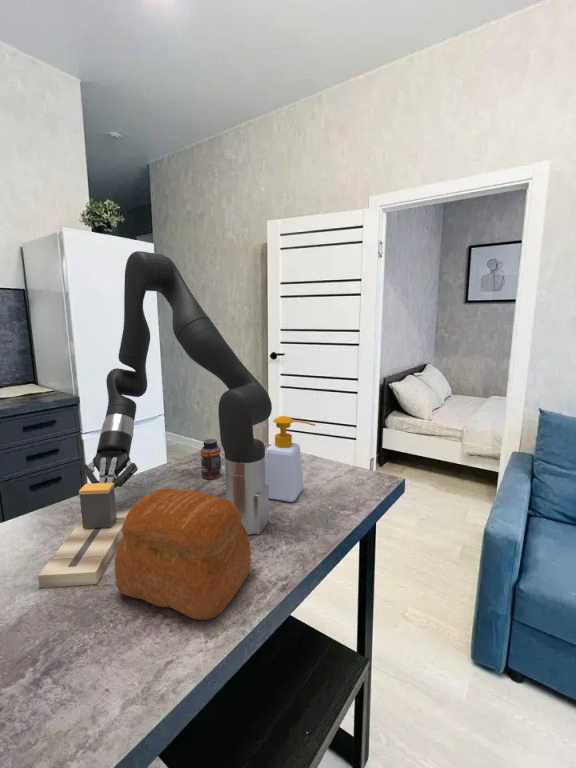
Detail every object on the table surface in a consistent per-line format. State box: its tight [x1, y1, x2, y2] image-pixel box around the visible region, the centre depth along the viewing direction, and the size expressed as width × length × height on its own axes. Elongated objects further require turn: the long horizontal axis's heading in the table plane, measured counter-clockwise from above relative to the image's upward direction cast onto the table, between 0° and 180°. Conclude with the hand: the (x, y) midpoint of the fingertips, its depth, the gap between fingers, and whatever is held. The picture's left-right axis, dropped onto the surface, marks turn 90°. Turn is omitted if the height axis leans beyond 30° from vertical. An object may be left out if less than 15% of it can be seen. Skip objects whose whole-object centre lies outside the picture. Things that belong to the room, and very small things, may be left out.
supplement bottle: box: [200, 438, 222, 480], centre depth 119 cm, size 6×6×11 cm
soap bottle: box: [265, 415, 317, 503], centre depth 106 cm, size 10×14×22 cm
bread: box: [114, 487, 252, 621], centre depth 71 cm, size 18×21×17 cm
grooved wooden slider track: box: [37, 507, 132, 589], centre depth 83 cm, size 24×10×3 cm, turn 6°
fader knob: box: [78, 483, 117, 528], centre depth 87 cm, size 4×6×9 cm, turn 96°
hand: (103, 504), depth 89 cm, fingers closed
